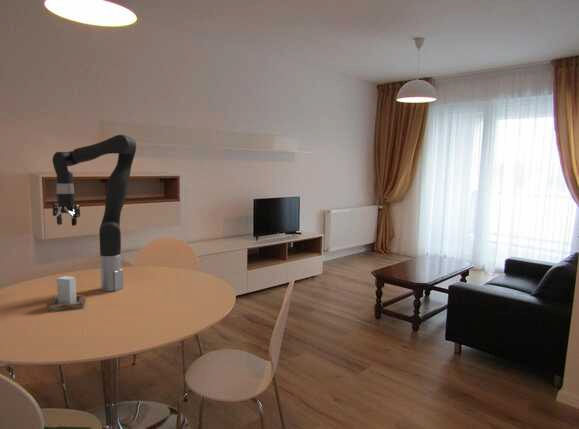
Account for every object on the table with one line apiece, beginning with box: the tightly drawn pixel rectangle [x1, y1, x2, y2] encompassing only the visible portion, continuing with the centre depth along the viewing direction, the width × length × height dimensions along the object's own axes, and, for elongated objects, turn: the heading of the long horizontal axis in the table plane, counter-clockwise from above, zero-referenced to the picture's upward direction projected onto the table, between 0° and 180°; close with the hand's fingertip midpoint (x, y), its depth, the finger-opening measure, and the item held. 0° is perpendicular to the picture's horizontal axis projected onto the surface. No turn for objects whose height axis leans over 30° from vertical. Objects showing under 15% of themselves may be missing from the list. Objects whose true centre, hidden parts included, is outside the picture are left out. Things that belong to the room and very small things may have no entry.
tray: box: [48, 294, 86, 313], centre depth 176 cm, size 13×13×2 cm
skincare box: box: [56, 275, 77, 304], centre depth 176 cm, size 6×4×12 cm
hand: (66, 225), depth 203 cm, fingers open, 8 cm apart
